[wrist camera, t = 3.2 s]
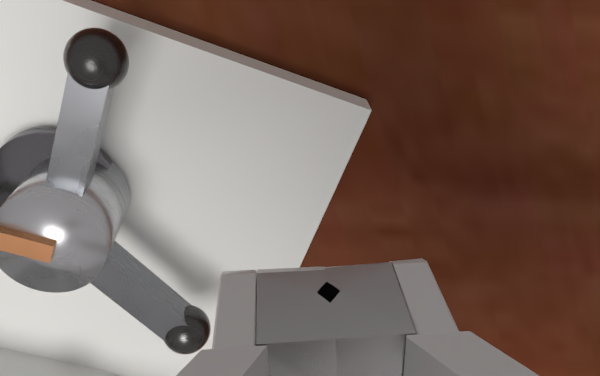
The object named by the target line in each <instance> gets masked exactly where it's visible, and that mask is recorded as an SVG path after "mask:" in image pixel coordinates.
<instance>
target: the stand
mask: <svg viewBox="0 0 600 376" xmlns="http://www.w3.org/2000/svg"><path fill="white" fill-rule="evenodd" d="M86 28H101V29H105V30H107V31H110V32H111V33H113V34H115V35H116V36H117V37H118V38H119V39H120V40H121V41H122V42H123V44H124V45H125V47H126V49H127V52H128V55H129V69H128V72H127V74H126V76H125V78H124V79H123V81H122V82H121V83H120V84H119V85H117V86H116V87H115V89H114V93H113V97H112V101H111V105H110V109H109V113H108V118H107V122H106V126H105V130H104V134H103V138H102V142H101V146H100V148H101V149H102V150H103V151H104V152H105V153H106V154H107V155H108V156H109V158H110V159H111V160H112V162H114V163H115V164H116V165H117V166H118V167H119V168H120V170H121V171H122V172H123V174H124V176H125V177H126V179H127V182H128V184H129V188H130V195H131V196H130V205H129V208H128V211H127V213H126V215H125V217H124V220H123V222H122V224H121V227H120V229H119V231H118V234H117V236H116V238H115V241H116V242H117V243H118V244H120V245H121V246H122V247H123V248H124V249H126V250H127V251H128V252H129V253H130V254H131V255H133V256H134V257H135V258H136V259H137V260H139V261H140V262H141V263H142V264H143V265H145V266H146V267H147V268H148V269H149V270H151V271H152V272H153V273H154V274H155V275H156V276H158V277H159V278H160V279H161V280H162V281H164V282H165V283H166V284H167V285H168V286H170V287H171V288H172V289H173V290H174V291H176V292H177V293H178V294H179V295H180V296H181V297H183V298H184V299H185V300H186V301H187V302H189V303H190V304H191V305H193V306H196V307H198V308H200V309H201V310H203V311H204V312H205V314H206V315H207V316H208V318H209V321H210V325H211V331H210V336H209V339H208V341H207V342H206V344H205V345H204V346H203V347H202V348H201V349H200V350H198V351H197V352H195V353H192V354H179V353H176V352H174V351H172V350H171V349H169V348H168V346H167V345H166V344H165V342H164V340H162V339H161V338H160V337H159V336H157V335H156V334H155V333H153V332H152V331H151V330H150V329H148V328H147V327H146V326H144V325H143V324H142V323H141V322H139V321H138V320H137V319H136V318H134V317H133V316H132V315H130V314H129V313H128V312H127V311H125V310H124V309H123V308H122V307H120V306H119V305H118V304H116V303H115V302H114V301H113V300H111V299H110V298H109V297H107V296H106V295H105V294H104V293H102V292H101V291H100V290H99V289H97V288H96V287H95V286H93V285H92V284H91V283H89V284H87V285H86V286H84V287H82V288H79V289H77V290H73V291H69V292H61V293H51V292H43V291H38V290H35V289H31V288H29V287H26V286H24V285H22V284H20V283H18V282H16V281H15V280H13V279H12V278H10V277H9V276H8V275H6V274H5V273H4V272H3V271H2V270H1V269H0V376H176V375H177V374H178V373H179V372H180V371H181V370H182V369H183V368H184V367H185V366H186V365H187V364H188V363H189V362H190V361H191V360H192V359H193V358H194V357H195V356H196V355H197V354H198V353H199V352H200V351H201V350H205V349H212V344H213V335H214V326H215V317H216V307H217V298H218V289H219V279H220V276H221V274H222V272H225V271H240V270H256V271H257V269H279V268H299V267H300V265H301V263H302V261H303V259H304V257H305V254H306V252H307V250H308V248H309V246H310V244H311V241H312V239H313V237H314V235H315V233H316V230H317V228H318V226H319V224H320V222H321V220H322V217H323V215H324V213H325V211H326V209H327V207H328V204H329V202H330V200H331V198H332V196H333V194H334V191H335V189H336V187H337V185H338V183H339V180H340V178H341V176H342V174H343V172H344V170H345V167H346V165H347V163H348V161H349V159H350V157H351V154H352V152H353V150H354V148H355V146H356V144H357V141H358V139H359V137H360V135H361V133H362V130H363V128H364V126H365V124H366V122H367V120H368V117H369V115H370V113H371V111H372V110H371V108H370V106H369V104H368V102H367V100H366V99H364V98H361V97H358V96H356V95H353V94H350V93H347V92H345V91H342V90H339V89H336V88H333V87H331V86H328V85H325V84H322V83H320V82H317V81H314V80H311V79H308V78H306V77H303V76H300V75H297V74H295V73H292V72H289V71H286V70H283V69H281V68H278V67H275V66H272V65H270V64H267V63H264V62H261V61H258V60H256V59H253V58H250V57H247V56H245V55H242V54H239V53H236V52H233V51H231V50H228V49H225V48H222V47H219V46H217V45H214V44H211V43H208V42H206V41H203V40H200V39H197V38H194V37H192V36H189V35H186V34H183V33H181V32H178V31H175V30H172V29H169V28H167V27H164V26H161V25H158V24H156V23H153V22H150V21H147V20H144V19H142V18H139V17H136V16H133V15H131V14H128V13H125V12H122V11H119V10H117V9H114V8H111V7H108V6H106V5H103V4H100V3H97V2H94V1H92V0H0V148H1V147H2V146H3V145H4V144H5V143H6V142H7V141H8V140H9V139H11V138H12V137H13V136H15V135H17V134H19V133H21V132H23V131H26V130H29V129H34V128H41V127H54V128H57V124H58V119H59V114H60V109H61V104H62V99H63V94H64V89H65V84H66V79H67V74H68V73H67V71H66V69H65V66H64V61H63V53H64V48H65V46H66V43H67V42H68V40H69V39H70V38H71V37H72V36H73V35H74V34H75V33H77V32H78V31H80V30H83V29H86Z"/></svg>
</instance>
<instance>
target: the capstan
mask: <svg viewBox="0 0 600 376" xmlns="http://www.w3.org/2000/svg"><path fill="white" fill-rule="evenodd" d="M63 61H64V66H65V69H66V71H67V73H68V74H67V79H66V84H65V89H64V94H63V99H62V104H61V109H60V114H59V119H58V124H57V128H54V127H41V128H34V129H29V130H26V131H23V132H21V133H19V134H17V135H15V136H13V137H12V138H11V139H9V140H8V141H7V142H6V143H5V144H4V145H3V146H2V147H1V148H0V269H1V270H2V271H3V272H4V273H5V274H6V275H8V276H9V277H10V278H12V279H13V280H15V281H16V282H18V283H20V284H22V285H24V286H26V287H29V288H31V289H35V290H38V291H43V292H51V293H61V292H69V291H73V290H77V289H79V288H82V287H84V286H86V285H87V284H89V283H91V284H92V285H93V286H95V287H96V288H97V289H99V290H100V291H101V292H102V293H104V294H105V295H106V296H107V297H109V298H110V299H111V300H113V301H114V302H115V303H116V304H118V305H119V306H120V307H122V308H123V309H124V310H125V311H127V312H128V313H129V314H130V315H132V316H133V317H134V318H136V319H137V320H138V321H139V322H141V323H142V324H143V325H144V326H146V327H147V328H148V329H150V330H151V331H152V332H153V333H155V334H156V335H157V336H159V337H160V338H161V339H162V340H164V342H165V344H166V345H167V346H168V348H169V349H171V350H172V351H174V352H176V353H179V354H192V353H195V352H197V351H198V350H200V349H201V348H202V347H203V346H204V345H205V344H206V342H207V341H208V339H209V336H210V331H211V325H210V321H209V318H208V316H207V315H206V314H205V312H204V311H203V310H201V309H200V308H198V307H196V306H193V305H191V304H190V303H189V302H187V301H186V300H185V299H184V298H183V297H181V296H180V295H179V294H178V293H177V292H176V291H174V290H173V289H172V288H171V287H170V286H168V285H167V284H166V283H165V282H164V281H162V280H161V279H160V278H159V277H158V276H156V275H155V274H154V273H153V272H152V271H151V270H149V269H148V268H147V267H146V266H145V265H143V264H142V263H141V262H140V261H139V260H137V259H136V258H135V257H134V256H133V255H131V254H130V253H129V252H128V251H127V250H126V249H124V248H123V247H122V246H121V245H120V244H118V243H117V242H116V241H115V238H116V236H117V234H118V231H119V229H120V227H121V224H122V222H123V220H124V217H125V215H126V213H127V211H128V208H129V205H130V196H131V195H130V188H129V184H128V182H127V179H126V177H125V176H124V174H123V172H122V171H121V170H120V168H119V167H118V166H117V165H116V164H115V163H114V162H112V160H111V159H110V158H109V156H108V155H107V154H106V153H105V152H104V151H103V150H102V149H101V148H100V146H101V142H102V138H103V134H104V130H105V126H106V122H107V118H108V113H109V109H110V105H111V101H112V97H113V93H114V89H115V87H116V86H117V85H119V84H120V83H121V82H122V81H123V79H124V78H125V76H126V74H127V72H128V69H129V55H128V52H127V49H126V47H125V45H124V44H123V42H122V41H121V40H120V39H119V38H118V37H117V36H116V35H115V34H113V33H111V32H110V31H107V30H105V29H101V28H86V29H83V30H80V31H78V32H77V33H75V34H74V35H73V36H72V37H71V38H70V39H69V40H68V42H67V43H66V46H65V48H64V53H63Z"/></svg>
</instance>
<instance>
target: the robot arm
mask: <svg viewBox="0 0 600 376" xmlns="http://www.w3.org/2000/svg"><path fill="white" fill-rule="evenodd" d="M176 376H539V375H537V374H536V373H534V372H533V371H531V370H530V369H528V368H526V367H525V366H523V365H522V364H520V363H519V362H517V361H516V360H514V359H512V358H511V357H509V356H508V355H506V354H505V353H503V352H502V351H500V350H498V349H497V348H495V347H494V346H492V345H491V344H489V343H488V342H486V341H484V340H483V339H481V338H480V337H478V336H477V335H475V334H474V333H472V332H470V331H462V332H459V330H458V328H457V326H456V323H455V321H454V319H453V317H452V315H451V313H450V310H449V308H448V306H447V304H446V302H445V299H444V297H443V295H442V293H441V291H440V289H439V286H438V284H437V282H436V280H435V278H434V276H433V273H432V271H431V269H430V267H429V265H428V262H427V261H426V260H424V259H423V258H420V259H409V260H399V261H390V262H387V263H374V264H361V265H347V266H334V267H302V268H279V269H257V271H256V270H240V271H225V272H222V274H221V276H220V279H219V289H218V298H217V307H216V317H215V326H214V335H213V344H212V349H205V350H201V351H200V352H199V353H198V354H197V355H196V356H195V357H194V358H193V359H192V360H191V361H190V362H189V363H188V364H187V365H186V366H185V367H184V368H183V369H182V370H181V371H180V372H179V373H178V374H177V375H176Z"/></svg>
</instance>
